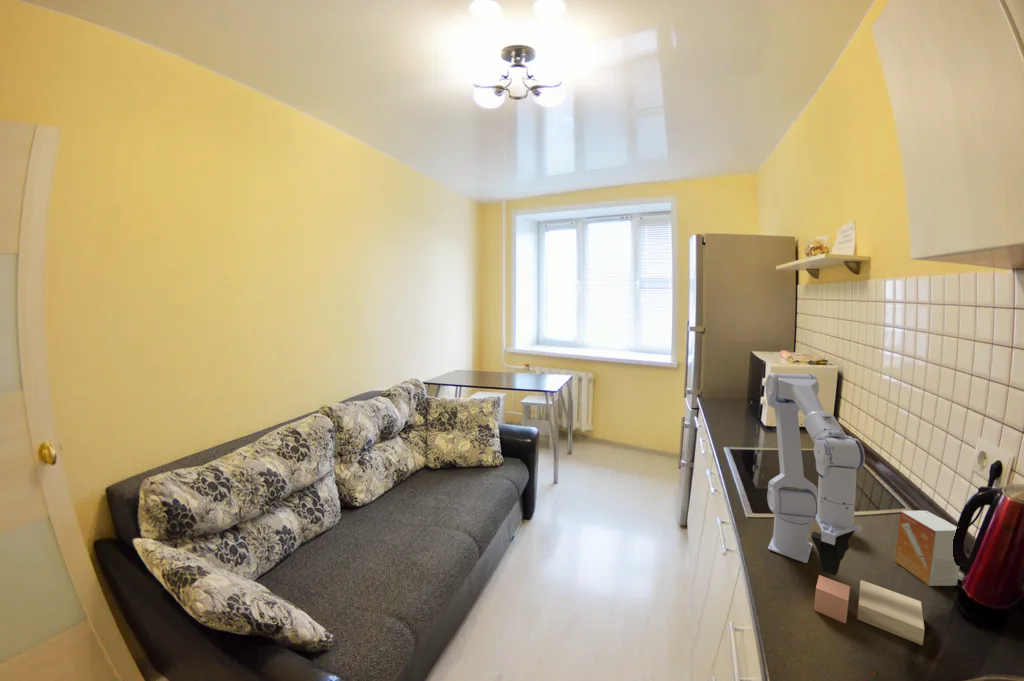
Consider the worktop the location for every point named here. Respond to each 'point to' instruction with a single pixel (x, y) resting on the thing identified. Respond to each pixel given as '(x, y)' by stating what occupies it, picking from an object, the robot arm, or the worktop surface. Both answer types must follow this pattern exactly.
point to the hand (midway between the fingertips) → (832, 564)
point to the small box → (927, 548)
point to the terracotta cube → (832, 598)
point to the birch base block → (891, 612)
